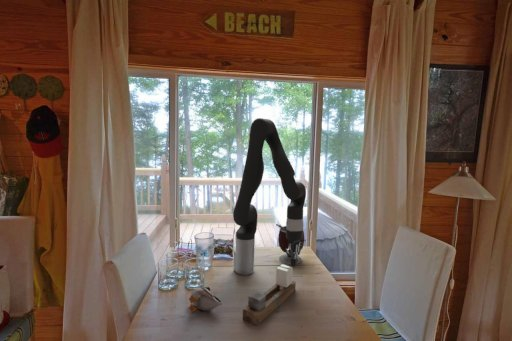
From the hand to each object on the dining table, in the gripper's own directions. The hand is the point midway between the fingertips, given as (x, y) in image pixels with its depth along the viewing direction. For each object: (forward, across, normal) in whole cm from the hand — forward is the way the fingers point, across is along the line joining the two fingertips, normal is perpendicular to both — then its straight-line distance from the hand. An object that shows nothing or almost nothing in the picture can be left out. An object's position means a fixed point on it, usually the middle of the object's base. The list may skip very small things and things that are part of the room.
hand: (293, 265), depth 131 cm
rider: (+7, +8, 0) cm, 11 cm away
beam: (+9, +18, 0) cm, 20 cm away
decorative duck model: (+9, +34, -20) cm, 40 cm away
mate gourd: (+9, -25, -16) cm, 31 cm away
